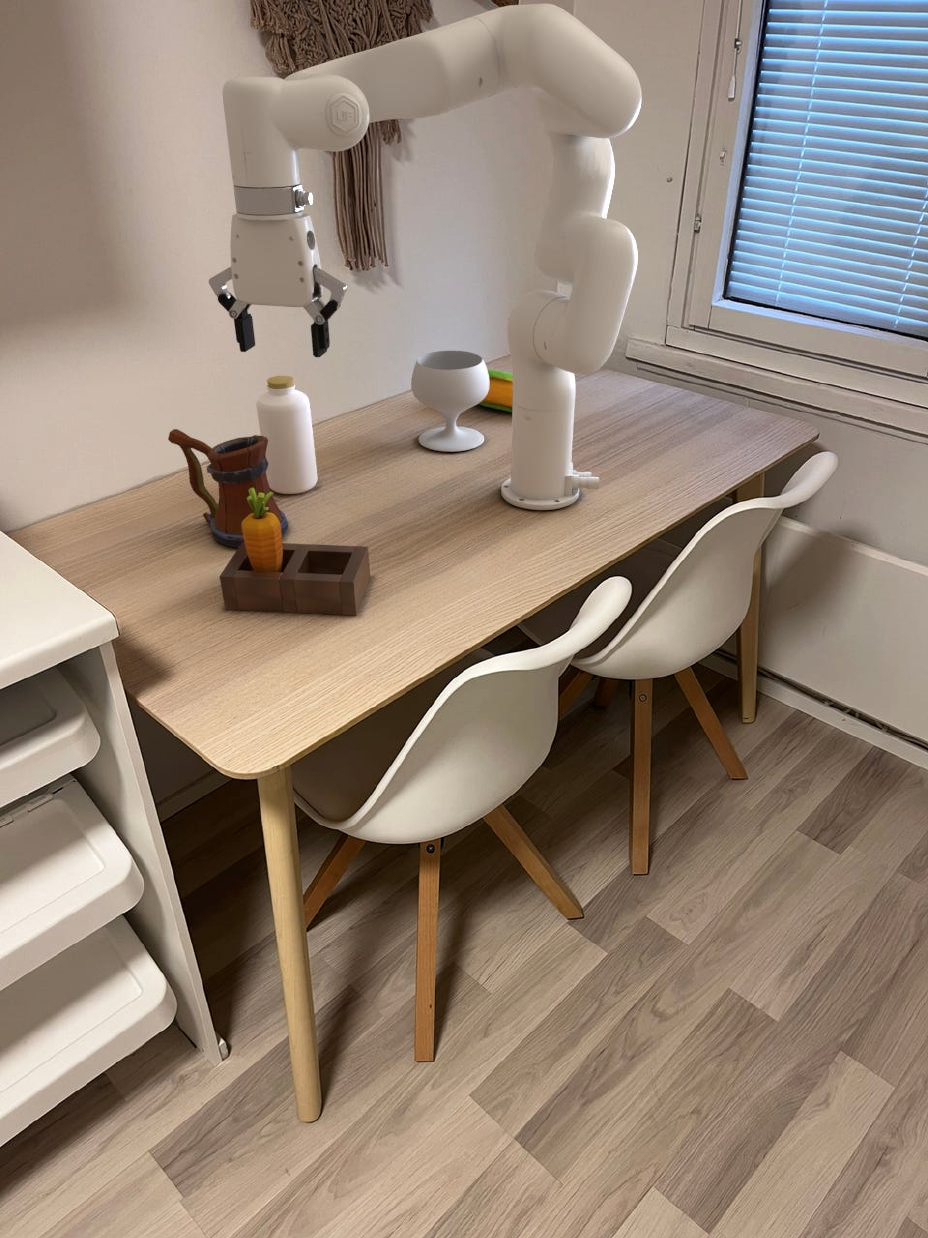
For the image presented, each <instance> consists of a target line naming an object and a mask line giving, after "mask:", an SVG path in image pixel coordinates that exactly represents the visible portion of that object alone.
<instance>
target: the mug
mask: <svg viewBox="0 0 928 1238" xmlns="http://www.w3.org/2000/svg"><path fill="white" fill-rule="evenodd" d="M167 440H168V441H169V442H170V443H171V444H173V445H177V446H178V447H179V448H180V449H181V451H182V452H183V455H184V457H185V459H186V464H187V468H188V475H189V476H188V477H189V478H188V479H189V484H190V487H191V489H192V491H193V492H194V494H195V495H196V496H197V497H199V498H200V499H201V500H203V501H204V503H205V504H206V505H207V507H208V509H209V512H210V513H209V512H206V511H205V512H204V513H203V514H202V516H203V518H204V520H205V522H206V523H208V524H209V527H210V530H211V534H212V536H213V538H214V540H215V541H216V542H218V543H219V544H222V545H225V546H227V547H232V548H235V549H238V548H239V546H240V545H241V543H242V542H244V537H243V532H242V525H241V524H242V521H243V520H244V519H245V518H246V517H247V516H248V515H250V514H251V513H253V511H252V509H251V507H250V506H249V503H248V500H247V497H248V496H250V494H249V489H250V488H254V490H255V492H256V496H258V494H259V493H264V497H265V496H266V495H267V494H268V493H269V492H271V488H270V487H269V484H268V480H267V476H266V470H267V467H268V461H267V459H266V456H265V455H266V449H267V444H268V439H267V437H264V436H261V435H259V434H254V435H251V436H242V437H236V438H233V439H229V440H226V441H223V442H221V443H219V444H216V445H215V446H213V447H211V446H209V445H208V444H207V443H205V442H204V441H201V440H199V439H197V438H194V437H192V436H190V435H188V434H186V433H185V432H183V431H181V430H180V429H178V428H174V429H172V430H171V431H169V433H168V438H167ZM192 449H193V450H195V451H198V452H200V453H202V454H203V455H205V457H206V458H207V459H208V461H209V463H210V464H208V465H206V472H207V474H210V476H211V478H212V480H214V481H215V482H216V483H217V484H218V485H217V486H218V502H217V501H216V500H215V498H214V497H213V496H212V494H211V493H210V492H209V491H208V490H207V488H206V486H205V483H204V482H205V480H204V474H203V469H202V466H201V463H200V460H199V458H198V457H197V455H196V454H195V452H194V451H193V450H192ZM265 507H268V508H269V509H268V511H267V512H269V513H273V514H274V515H275V516H276V517H277V518H278V520H279V522H280V525H281V533H282V537H283V536H284V535H285V533H286V532H287V531H288V529H289V521H288V519H287V516H286V514H285V512H284V511H283V510H281V509H280V507H279V505H278V504H277V502H276V500H275V498H274V496H273V495H272V496H271V497H270V498H269V499H268V501H267V503H266V505H265Z"/></svg>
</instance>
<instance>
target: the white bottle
mask: <svg viewBox="0 0 928 1238" xmlns="http://www.w3.org/2000/svg"><path fill="white" fill-rule="evenodd" d="M266 382H267V385H266V389H267V391H266V392H265V393H263V394H262V395H260V396H259V398H257V400H256V411H257V418H258V425H259V433H260V434H259V435H260V436H264V437H267V439H268V444H267V449H266V455H265V456H266V459H267V461H268V467H267V470H266V476H267V480H268V484H269V488H270V490H271V491H273V492H275V493H278V494H283V495H295V494H296V495H297V494H301V493H305V492H308V491H310V490H312V489H313V488H314V487H315V486H316V485H317V482H318V480H319V477H318V476H319V475H318V468H317V458H316V448H315V439H314V431H313V421H312V411H311V402H310V399H309V397H308V395H307V394H306V393H305V392H302V391H301V390H298V389H295V388H296V384H295V382H294V377H292V376H290V375H275V376H271V377H269V378H268V379H267V380H266Z"/></svg>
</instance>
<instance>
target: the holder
mask: <svg viewBox="0 0 928 1238" xmlns="http://www.w3.org/2000/svg"><path fill="white" fill-rule="evenodd" d="M282 546H283V558H282V569H281V572H266V571H253V568H252V566H251V563H250V560H249V558H248V555H247V551H246V547H245V542H242V543H241V545H240V546H239V548H236V550H235V552H234V554H233V555H232V556H231V558H230V560H229V561H228V563H227V564H226V566H225V567H224V569H223V570H222V572H221V573H220V575H219V582H220V588H221V592H222V593H221V594H222V600H223V605H224V609H225V610H226V611H247V612H248V611H250V612H251V611H252V612H268V613H269V612H270V613H291V614H292V613H293V614H312V615H314V614H315V615H336V616H353V617H354V616H357V615H358V613H359V610H360V607H361V605H362V601H363V600H364V596H365V595H366V594H365V593H366V591H367V588H368V586H369V583H370V580H371V569H370V568H371V567H370V566H371V565H370V554H369V546H363V545H362V546H361V545H338V544H335V545H334V544H314V543H312V544H310V543H309V544H308V543H291V542H290V543H288V542H282Z"/></svg>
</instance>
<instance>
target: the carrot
mask: <svg viewBox="0 0 928 1238" xmlns="http://www.w3.org/2000/svg"><path fill="white" fill-rule="evenodd" d="M249 494H250V496H248V497H247V500H248V503H249V506H250V507H251V509H252V511H253V513H251V514H250V515H248V516H247V517H246V518H245V519H244V520H243V521H242V524H241V525H242V532H243V537H244V542H245V547H246V551H247V555H248V558H249V560H250V563H251V566H252V568H253V571H266V572H281V569H282V558H283V546H282V543H283V536H282V533H281V525H280V522H279V520H278V518H277V517H276V516H275V515H274V514H273V513H269V512H267V511H268V509H269V508H268V507H265V505H266V503H267V501H268V499H269V498H270V497H271V496H273V495H274V491H273V492H272V491H270V492H269V493H268V494H267V495H266V496H265V497H264V493H259V494H258V496H256V492H255V490H254V488H250V489H249Z"/></svg>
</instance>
